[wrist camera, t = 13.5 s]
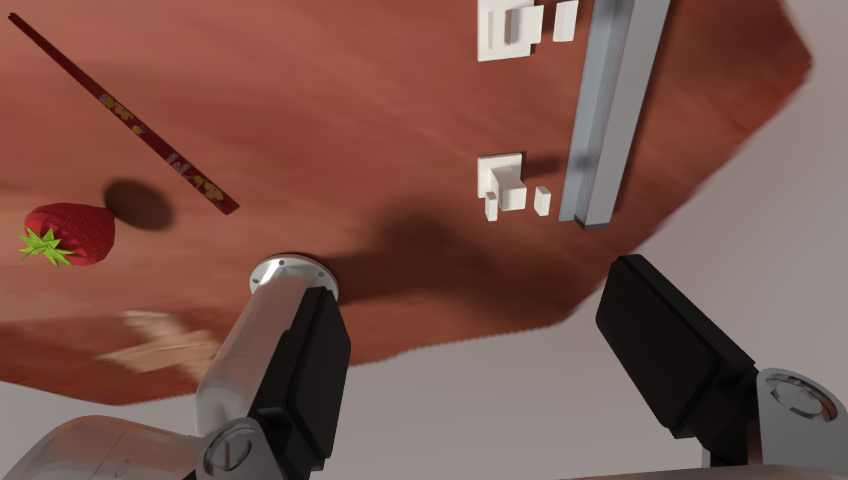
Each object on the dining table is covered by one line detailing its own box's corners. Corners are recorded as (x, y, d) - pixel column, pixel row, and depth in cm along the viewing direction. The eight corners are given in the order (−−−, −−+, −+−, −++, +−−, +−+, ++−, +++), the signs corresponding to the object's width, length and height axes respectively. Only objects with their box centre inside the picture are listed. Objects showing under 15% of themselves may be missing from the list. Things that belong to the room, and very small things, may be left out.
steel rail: (595, 216, 42) (607, 227, 39) (573, 218, 42) (583, 230, 39) (656, -35, 27) (681, -42, 25) (622, -31, 27) (643, -37, 25)
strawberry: (115, 242, 41) (41, 294, 33) (63, 193, 37) (-37, 239, 29) (152, 230, 40) (85, 280, 32) (103, 178, 36) (12, 221, 28)
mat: (610, 214, 42) (611, 215, 42) (558, 219, 42) (559, 221, 42) (678, -40, 28) (681, -41, 27) (599, -30, 28) (602, -31, 27)
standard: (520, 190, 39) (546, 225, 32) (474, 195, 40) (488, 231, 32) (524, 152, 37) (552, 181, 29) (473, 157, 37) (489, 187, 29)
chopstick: (18, 9, 28) (7, 9, 27) (239, 205, 40) (236, 208, 39) (8, 24, 29) (-3, 24, 28) (229, 212, 40) (226, 216, 39)
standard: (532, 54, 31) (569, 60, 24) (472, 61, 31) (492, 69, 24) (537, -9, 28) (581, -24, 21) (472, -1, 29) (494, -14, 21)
